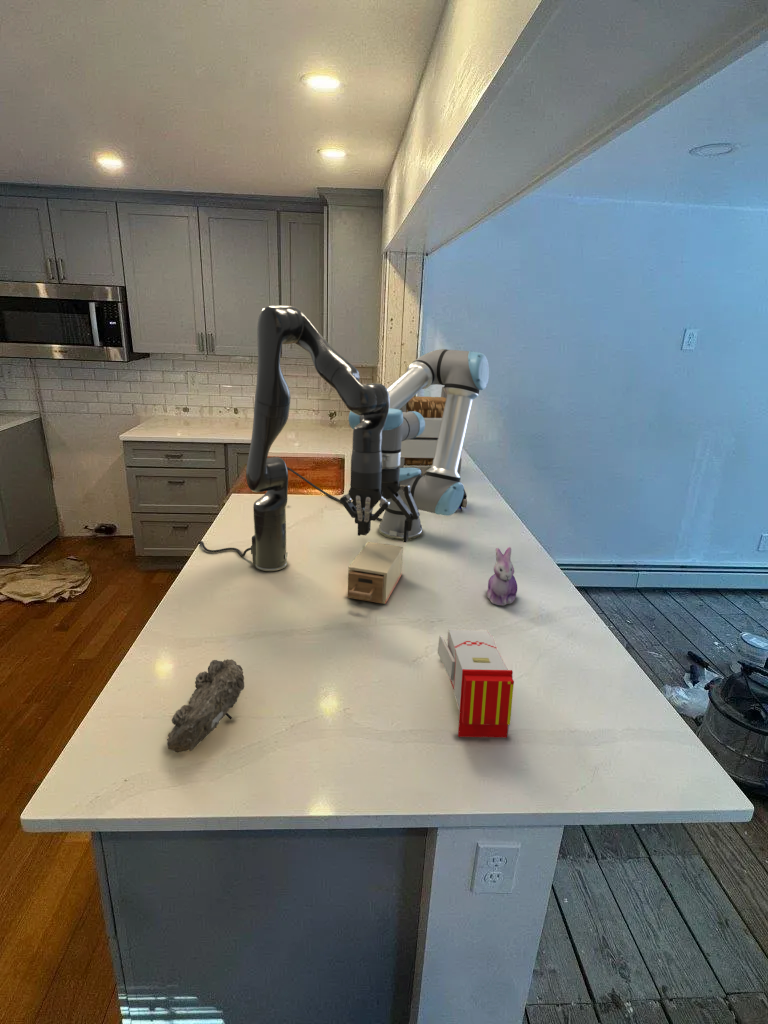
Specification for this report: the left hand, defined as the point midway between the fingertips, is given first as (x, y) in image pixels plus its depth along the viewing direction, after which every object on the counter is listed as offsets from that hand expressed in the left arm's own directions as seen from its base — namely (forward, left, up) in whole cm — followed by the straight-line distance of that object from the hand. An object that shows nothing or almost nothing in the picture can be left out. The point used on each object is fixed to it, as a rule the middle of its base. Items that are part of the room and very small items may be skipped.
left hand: (364, 534), depth 143 cm
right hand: (-1, +19, -8) cm, 21 cm away
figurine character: (+6, +91, -21) cm, 93 cm away
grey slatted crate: (-21, +133, -21) cm, 136 cm away
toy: (+33, -24, -21) cm, 46 cm away
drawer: (0, +8, -20) cm, 22 cm away
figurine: (+34, +20, -21) cm, 45 cm away
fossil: (-11, -50, -21) cm, 56 cm away
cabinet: (-1, +13, -21) cm, 25 cm away
